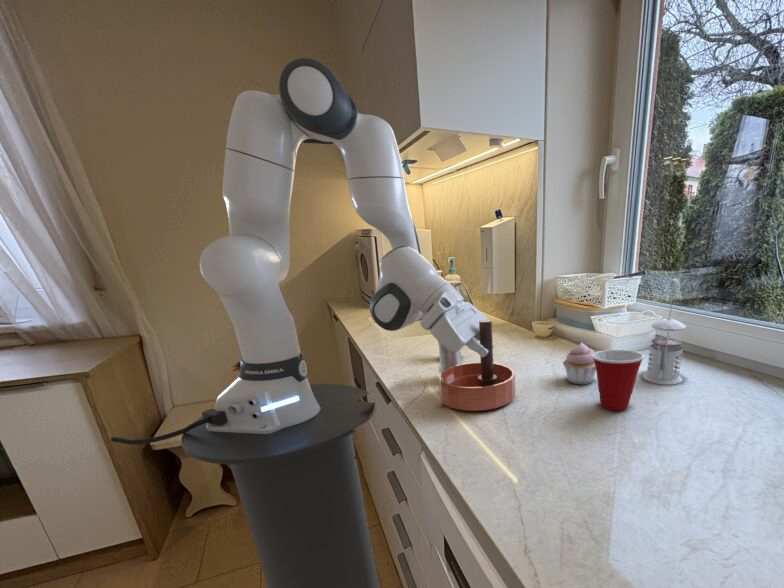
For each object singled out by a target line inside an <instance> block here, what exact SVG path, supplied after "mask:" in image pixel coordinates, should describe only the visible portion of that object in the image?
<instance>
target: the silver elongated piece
mask: <svg viewBox="0 0 784 588" xmlns="http://www.w3.org/2000/svg"><path fill="white" fill-rule="evenodd" d="M437 343H438V350H439V362H438V363H439V364H438V373H439V374H440V373H441V372H442V371H443V370H445V369H447V368H449V367H452V366H456V365H460V364H464V363H463V361H462V359H463V358H462V353H461V349H460V350H459V351H458V352H457V353H453V352H451V351H449V350H448V349H447V348H445V347H444V346H443V345H442V344H441V343H440V342H439V341H438V340H437ZM439 374H438V375H439Z"/></svg>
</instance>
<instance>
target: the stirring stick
mask: <svg viewBox="0 0 784 588" xmlns="http://www.w3.org/2000/svg"><path fill="white" fill-rule="evenodd" d="M479 333H480V341H479V343H480V344H481V345H482V346H485V347H486V348H487V349H488V350H489V353H488V354H487V355H486V356H485V357H481V356H480V355H479V356H480V357H479V358H480V362H481V375H480V376H478V387H484V386H491V385H495V384H497V376H496V375H494V374H493V363H494V347H493V345H494V343H493V341H494V340H493V319H488V320H480V321H479Z"/></svg>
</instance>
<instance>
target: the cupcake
mask: <svg viewBox="0 0 784 588" xmlns="http://www.w3.org/2000/svg"><path fill="white" fill-rule="evenodd" d="M593 353H595V351H594V350H593V349H591V348H590V347H588V346H587V345H586V344H584V343H583V342H580V343H579V345H577V346H575V347H572V349H570V351H569V353H567V355H566V359H564V361H562V365H563V367H564V369H565V372H566V377H567V380H568V382H569V383H571V384H575V385H589V384H591V383H592V382H593V381H594V378H595V375H596V373H597V372H596V367H595V363H594V360H593V358H592V354H593Z"/></svg>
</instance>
